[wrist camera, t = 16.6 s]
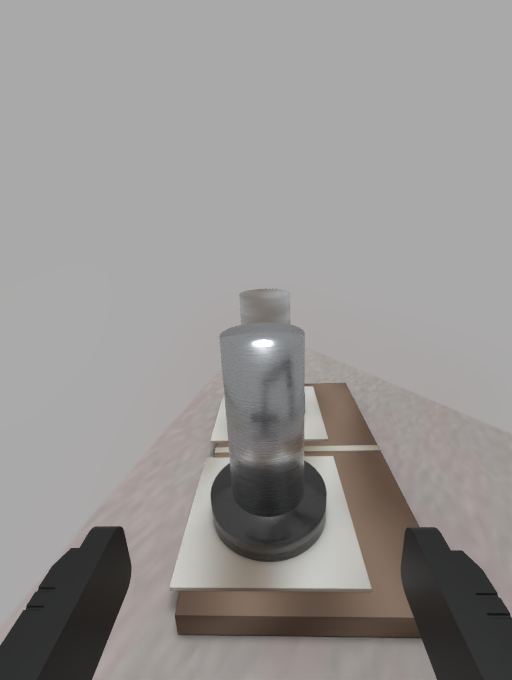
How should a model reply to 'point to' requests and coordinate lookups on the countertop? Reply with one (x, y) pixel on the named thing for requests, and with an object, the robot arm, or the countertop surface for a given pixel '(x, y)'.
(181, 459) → the countertop surface
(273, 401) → the pin
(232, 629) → the board
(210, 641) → the countertop surface
